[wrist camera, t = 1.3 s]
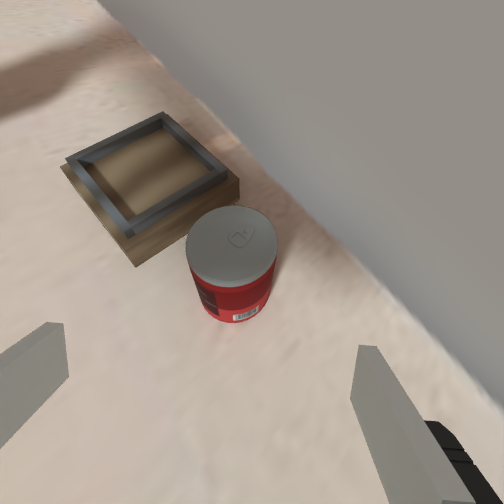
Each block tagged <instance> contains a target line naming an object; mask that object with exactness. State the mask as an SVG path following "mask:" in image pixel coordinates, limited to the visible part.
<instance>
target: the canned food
mask: <svg viewBox="0 0 504 504" xmlns="http://www.w3.org/2000/svg"><path fill="white" fill-rule="evenodd" d="M277 244H278V243H277V235H276V231H275V229H274V226H273V225H272V223H271V222H270V221H269V219H268V218H267V217H265V216H264V215H263V214H262V213H260V212H258V211H257V210H254V209H252V208H249V207H245V206H235V205H232V206H224V207H220V208H217V209H214V210H212V211H210V212H208V213H206V214H205V215H203V216H202V217H201V218H200V219H199V220H198V221H196V222H195V224H194V225H193V227H192V228H191V230H190V232H189V234H188V236H187V241H186V256H187V260H188V263H189V267H190V270H191V273H192V276H193V279H194V282H195V285H196V287H197V290H198V293H199V296H200V299H201V302H202V304H203V306H204V308H205V310H206V311H207V312H208V313H209V314H210V315H211V316H213V317H214V318H216V319H218V320H220V321H223V322H227V323H238V322H243V321H246V320H248V319H250V318H252V317H254V316H255V315H256V314H257V313H259V312H260V311H261V310H262V308H263V307H264V306H265V304H266V302H267V300H268V296H269V292H270V287H271V282H272V277H273V272H274V266H275V261H276V255H277Z"/></svg>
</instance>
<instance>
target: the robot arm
mask: <svg viewBox="0 0 504 504" xmlns="http://www.w3.org/2000/svg"><path fill="white" fill-rule="evenodd" d="M68 377H69V373H68V364H67V354H66V344H65V335H64V325H63V323H50V322H46V323H45V324H43V325H42V326H40V327H39V328H37V329H36V330H35V331H33V332H32V333H30V334H29V335H27V336H26V337H24V338H23V339H22V340H20V341H19V342H17V343H16V344H14V345H13V346H11V347H10V348H9V349H7V350H6V351H4V352H3V353H1V354H0V449H1V448H2V447H3V445H4V444H5V443H6V442H7V441H8V440H9V439H10V438H11V437H12V436H13V435H14V434H15V433H16V432H17V431H18V430H19V429H20V428H21V427H22V426H23V424H24V423H25V422H26V421H27V420H28V419H29V418H30V417H31V416H32V415H33V414H34V413H35V412H36V411H37V410H38V409H39V408H40V407H41V406H42V405H43V403H44V402H45V401H46V400H47V399H48V398H49V397H50V396H51V395H52V394H53V393H54V392H55V391H56V390H57V389H58V388H59V387H60V386H61V385H62V384H63V382H64V381H65V380H66V379H67V378H68ZM350 399H351V402H352V405H353V407H354V410H355V413H356V415H357V418H358V421H359V423H360V426H361V429H362V431H363V434H364V437H365V439H366V442H367V445H368V447H369V450H370V453H371V455H372V458H373V461H374V464H375V466H376V469H377V472H378V474H379V477H380V480H381V482H382V485H383V488H384V490H385V493H386V496H387V498H388V501H389V504H503V503H502V501H501V500H500V498H499V497H498V496H497V494H496V493H495V491H494V490H493V489H492V487H491V486H490V484H489V483H488V482H487V480H486V479H485V478H484V476H483V475H482V473H481V472H480V471H479V469H478V468H477V466H476V465H474V464H473V461H472V459H471V458H470V457H469V455H468V454H467V452H465V451H464V448H463V447H462V445H461V444H460V443H459V441H458V440H457V438H456V437H455V436H454V434H452V433H451V432H450V431H449V430H448V429H447V428H445V427H444V426H443V425H442V424H441V423H440V422H437V421H425V420H423V419H422V417H421V415H420V414H419V412H418V411H417V409H416V408H415V406H414V404H413V403H412V401H411V400H410V398H409V397H408V395H407V393H406V392H405V390H404V389H403V387H402V386H401V384H400V382H399V381H398V379H397V378H396V376H395V375H394V373H393V371H392V370H391V368H390V367H389V365H388V364H387V362H386V360H385V359H384V357H383V356H382V354H381V353H380V351H379V349H378V348H377V346H366V345H359V347H358V353H357V359H356V365H355V371H354V378H353V384H352V390H351V396H350Z"/></svg>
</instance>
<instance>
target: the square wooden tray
mask: <svg viewBox="0 0 504 504" xmlns="http://www.w3.org/2000/svg"><path fill="white" fill-rule="evenodd" d="M65 159H66V161H67V162H68V163H66V164H64V165H62V166H60V168H61V169H62V171H63V172H64V174H65V175H66V176H67V178H68V179H69V181H70V182H71V184H72V185H73V186H74V188H75V189H76V191H77V192H78V193H79V194H80V196H81V197H82V198H83V200H84V201H85V202H86V204H87V205H88V206H89V207H90V209H91V210H92V211H93V213H94V214H95V215H96V217H97V218H98V219H99V221H100V222H101V223H102V224H103V226H104V227H105V228H106V230H107V231H108V232H109V234H110V235H111V236H112V237H113V239H114V240H115V241H116V243H117V244H118V245H119V247H120V248H121V249H122V251H123V252H124V253H125V254H126V256H127V257H128V258H129V260H130V261H131V262H132V264H133V265H134V266H135V267H137V266H139V265H141V264H142V263H144V262H145V261H147V260H148V259H150V258H151V257H153V256H154V255H156V254H157V253H159V252H160V251H162V250H163V249H165V248H166V247H168V246H169V245H171V244H172V243H174V242H176V241H177V240H179V239H180V238H182V237H183V236H185V235H186V234H188V233H189V232H190V230H191V228H192V227H193V225H194V224H195V222H196V221H198V220H199V219H200V218H201V217H202V216H203V215H205V214H206V213H208V212H210V211H212V210H214V209H217V208H220V207H224V206H230V205H232V204H233V203H235V202H236V201H238V200H239V199H240V195H239V178H238V177H237V176H236V175H234V174H233V173H232V172H231V171H230V170H229V169H228V168H227V167H226V166H224V165H223V164H222V163H221V162H220V161H219V160H218V159H217V158H216V157H214V156H213V155H212V154H211V153H210V152H209V151H208V150H207V149H206V148H204V147H203V146H202V145H201V144H200V143H199V142H198V141H197V140H195V139H194V138H193V137H192V136H191V135H190V134H189V133H188V132H187V131H185V130H184V129H183V128H182V127H181V126H180V125H179V124H178V123H177V122H175V121H174V120H173V119H172V118H171V117H170V116H169V115H168V114H165V113H164V112H160V113H158V114H156V115H154V116H152V117H150V118H148V119H146V120H144V121H142V122H140V123H138V124H136V125H133V126H131V127H129V128H127V129H125V130H123V131H121V132H119V133H117V134H115V135H113V136H111V137H108V138H106V139H104V140H102V141H100V142H98V143H96V144H94V145H92V146H90V147H88V148H86V149H83V150H81V151H79V152H77V153H75V154H73V155H71V156H69V157H67V158H65Z"/></svg>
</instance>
